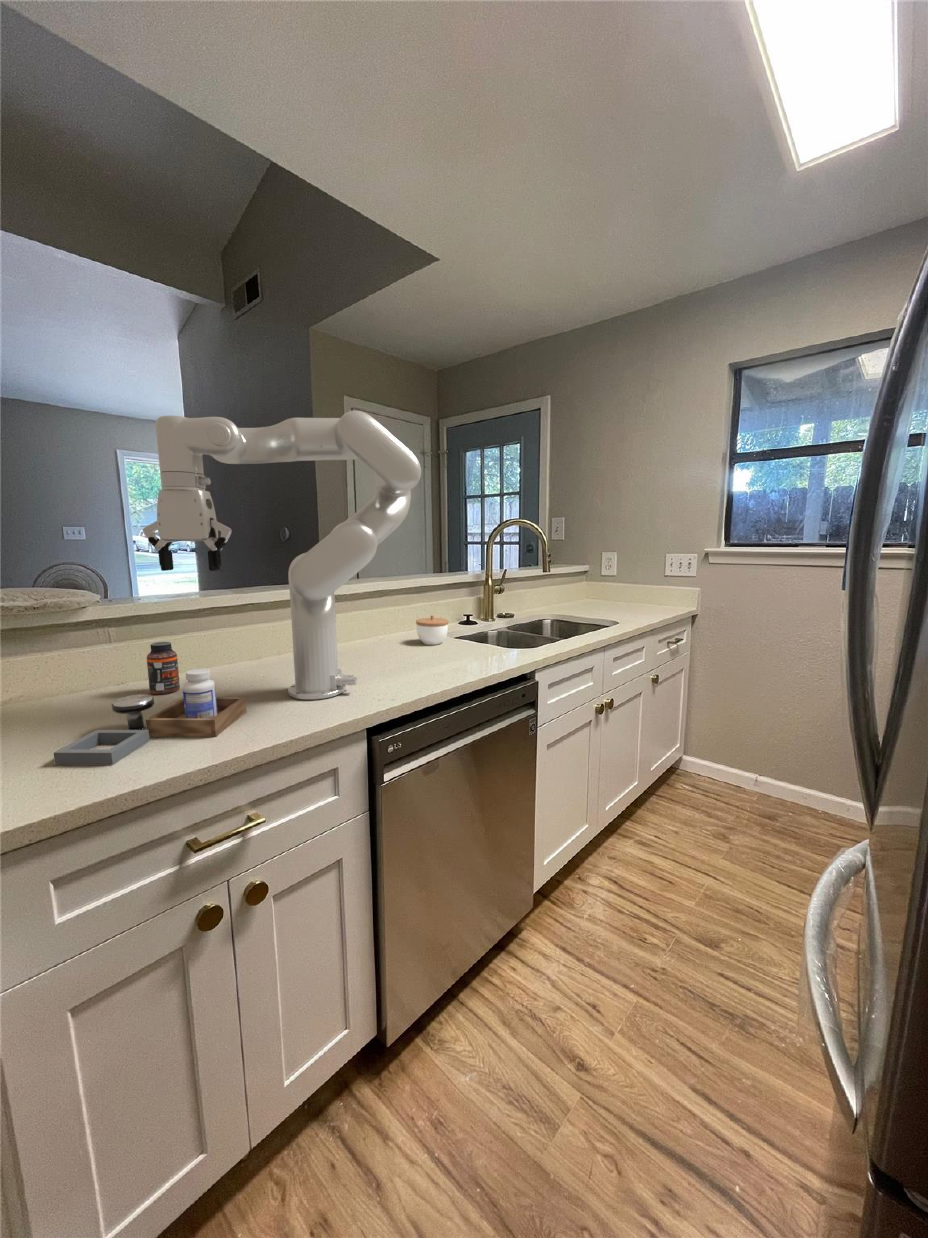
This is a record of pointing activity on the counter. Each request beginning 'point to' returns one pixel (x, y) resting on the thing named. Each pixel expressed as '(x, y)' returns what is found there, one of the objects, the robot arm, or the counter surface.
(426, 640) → the lidded jar
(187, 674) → the pill bottle
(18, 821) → the counter surface
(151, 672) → the supplement bottle
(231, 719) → the tray
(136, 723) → the metal mushroom knob
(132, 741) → the socket collar
